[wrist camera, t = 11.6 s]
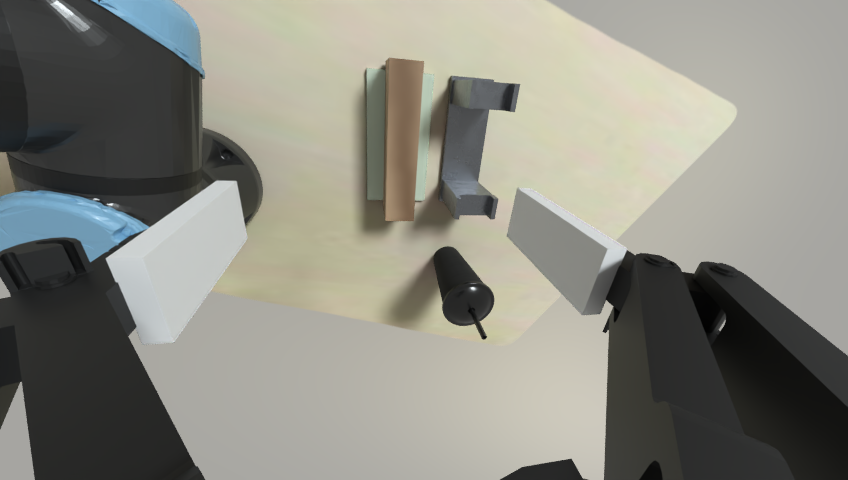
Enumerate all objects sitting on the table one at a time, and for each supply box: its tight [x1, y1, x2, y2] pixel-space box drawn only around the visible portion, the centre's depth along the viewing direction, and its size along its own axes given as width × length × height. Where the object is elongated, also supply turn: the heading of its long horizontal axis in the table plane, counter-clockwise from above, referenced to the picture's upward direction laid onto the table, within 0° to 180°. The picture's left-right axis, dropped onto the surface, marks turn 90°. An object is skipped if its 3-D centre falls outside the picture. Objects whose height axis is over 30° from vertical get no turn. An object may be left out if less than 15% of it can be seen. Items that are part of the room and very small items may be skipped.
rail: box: [383, 58, 424, 221], centre depth 43 cm, size 4×20×6 cm, turn 175°
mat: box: [367, 68, 434, 201], centre depth 45 cm, size 9×18×1 cm, turn 175°
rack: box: [439, 76, 520, 219], centre depth 43 cm, size 6×18×10 cm, turn 175°
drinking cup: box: [433, 247, 494, 339], centre depth 48 cm, size 8×8×20 cm
